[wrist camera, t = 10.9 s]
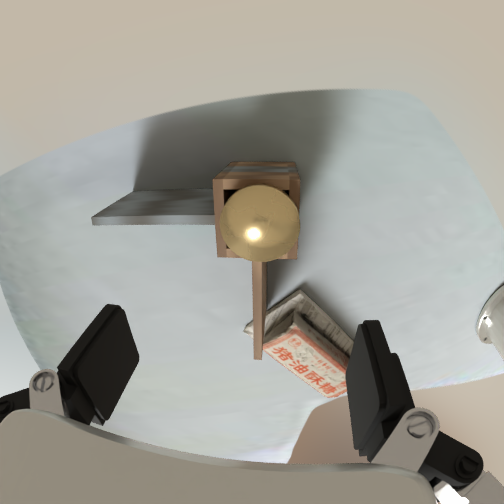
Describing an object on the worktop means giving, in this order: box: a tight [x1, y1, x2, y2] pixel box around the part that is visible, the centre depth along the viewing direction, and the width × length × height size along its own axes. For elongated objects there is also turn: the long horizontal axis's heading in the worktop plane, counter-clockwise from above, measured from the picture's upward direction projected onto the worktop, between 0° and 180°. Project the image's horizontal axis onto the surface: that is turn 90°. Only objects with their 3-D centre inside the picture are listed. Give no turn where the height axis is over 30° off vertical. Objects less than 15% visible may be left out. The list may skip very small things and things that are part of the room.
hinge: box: [91, 162, 300, 360], centre depth 30 cm, size 19×19×9 cm
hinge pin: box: [220, 183, 300, 262], centre depth 26 cm, size 6×6×10 cm
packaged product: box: [243, 289, 354, 398], centre depth 38 cm, size 18×5×10 cm
